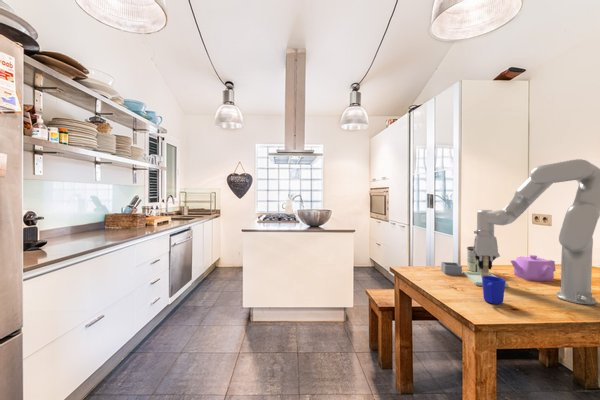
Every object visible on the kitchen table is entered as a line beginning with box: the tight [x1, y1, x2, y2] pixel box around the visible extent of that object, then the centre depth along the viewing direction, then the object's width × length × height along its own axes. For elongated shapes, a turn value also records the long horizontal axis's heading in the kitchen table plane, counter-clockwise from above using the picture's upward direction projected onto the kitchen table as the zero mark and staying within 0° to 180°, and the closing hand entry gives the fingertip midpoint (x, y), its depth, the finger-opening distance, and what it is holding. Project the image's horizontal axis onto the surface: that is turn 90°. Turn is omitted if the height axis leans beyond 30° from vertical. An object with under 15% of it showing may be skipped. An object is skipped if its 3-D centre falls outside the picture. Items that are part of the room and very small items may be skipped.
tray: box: [462, 271, 509, 289], centre depth 151 cm, size 20×14×2 cm
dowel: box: [481, 256, 490, 278], centre depth 150 cm, size 3×3×14 cm
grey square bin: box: [440, 261, 463, 276], centre depth 165 cm, size 9×9×6 cm
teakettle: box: [510, 254, 556, 282], centre depth 156 cm, size 17×17×12 cm
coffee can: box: [466, 246, 481, 273], centre depth 169 cm, size 10×10×14 cm
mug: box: [482, 276, 506, 305], centre depth 120 cm, size 8×12×10 cm
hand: (485, 268), depth 150 cm, fingers closed on dowel, 3 cm apart
